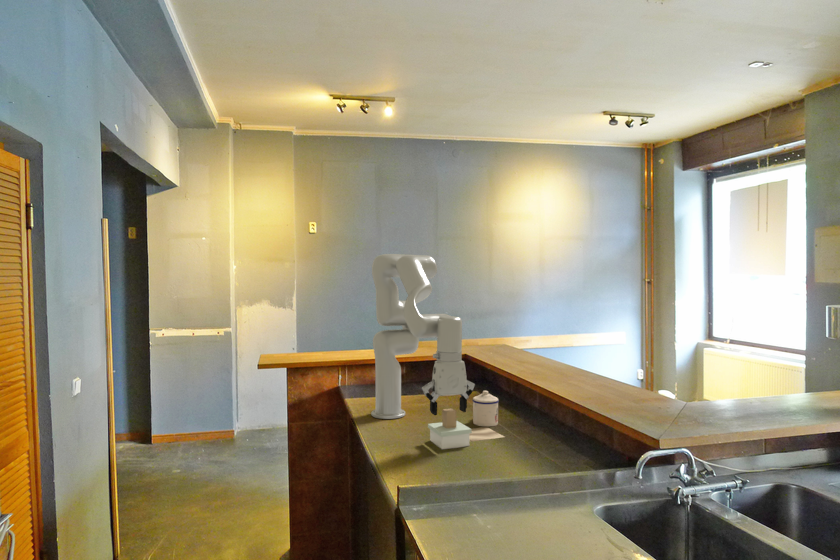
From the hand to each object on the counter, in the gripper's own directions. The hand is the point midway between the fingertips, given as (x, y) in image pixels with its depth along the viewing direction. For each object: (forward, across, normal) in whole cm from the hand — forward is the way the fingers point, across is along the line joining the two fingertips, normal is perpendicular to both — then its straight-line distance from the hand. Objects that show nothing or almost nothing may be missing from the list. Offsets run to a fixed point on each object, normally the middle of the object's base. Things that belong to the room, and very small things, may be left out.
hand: (448, 412), depth 157 cm
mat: (+10, +13, +4) cm, 17 cm away
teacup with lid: (+10, +22, +16) cm, 29 cm away
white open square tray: (+10, 0, -1) cm, 10 cm away
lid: (+5, 0, -1) cm, 5 cm away
